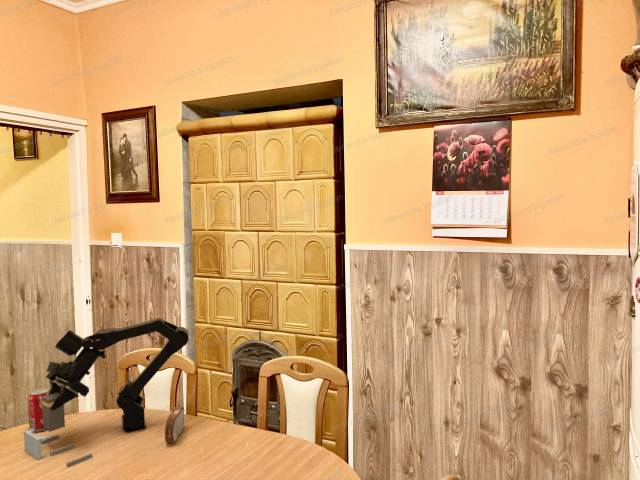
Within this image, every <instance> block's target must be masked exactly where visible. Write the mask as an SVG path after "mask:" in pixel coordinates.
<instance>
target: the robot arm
mask: <svg viewBox="0 0 640 480" xmlns="http://www.w3.org/2000/svg"><path fill="white" fill-rule="evenodd" d="M156 332H157V333H158V334H160V335H161V336H162V337H164V338H166V339H167V341H166V342H165V344H164V346H163V347H162V348H161V350H159V351H158V353H157V354H156V355H155V356H154V357H153V359H151V361H150V362H149V363H148V364H147V366H146V367H145V368H144V369H143V370H142V371H141V372H140V373H139V375H138V376H137V377H136V378H134V379H133V380H132V381H131V380H130V379H127V381H126V382H125V383H124V385H123V386H121V387H120V388H119V391H118V392H117V399H116V405H117V407H119V409H121V410H122V412H123V413H122V415H121V427H122V430H124V431H125V433H126V434H127V433H130V432H131V433H132V432H136V431H140V430H144V429H147V426H146V420H145V417H146V415H145V408H144V406H143V403H144V399H145V398H144V397H142V395H141V393H142V391H143V389H144V388H145V387H146V385H147V384H149V383H150V381H151V380H152V378H153V377H154V376H155V375H156V374H157V373H158V372H159V371H160V369H161V368H162V367H163V366H164V365H165V364H166V362H168V361H169V359H170V358H171V356H173V355H174V354H176V353H177V352H179V351H180V350H181V349H182V348H184V347H186V345H187V344H188V343H189V340H190V339H189V336H190V333H189V331H188V329H187V328H185V327H184V326H177V325H175V324H173V323H171V322H168V321H166V320H164V319H163V318H162V317H161V318H160V317H156V318H155V319H152V320H148V321H144V322H140V323H139V322H138V323H136V324H131V325H127V326H124V327H123V326H122V327H120V328H109V327H108V328H102V329H101V328H100V329H99V330H97V331H96V332H95V333H94V334H91V335H89V336H85V337H84V338H83V337H82V336H80V335H78V334H76V333H75V332H74V331H73V330H71V329H69V330H68V331H67V332H66V333H65V334H64V335H63V337H61V338H60V339H59V340H58V342H57V343H56V344H55V345H54V348H55V349H56V350H58V351H60V352H62V353H63V354H64V355H65V354H66V356H69V357H71V356H72V357H73V356H75V358H74V359H73V361H71V360H70V361H68V362H65V361H61V363H60V362H55V361H51V360H50V361H49V364H48V366H47V368H46V372H48V373H47V374H46V376H45V379H46V378H47V379H48V383H49V386H50V388H49V389H50V391H49V394H48V395H50V394H53V393H59V396H58V397H57V399H56V400H55V402H54V403H53V405H52V407H51V410H55V409H57V408H59V407H60V406H62V405H63V404H64V405H65V404H66V403H69V402H70V401H72V400H74V399H75V398H78V397H79V396H81V397H84V398H85V397H87V395H88V394H89V393H90V387H89V386H87V385H86V384H84V383H82V382H81V381H82V380H83V379H84V377H85V376H86V375H87V376H89V375H90V374H91V371H90V369H91V368H92V367H93V366H94V364H95V363H96V361H97V360H98V359H100V360H101V359H102V360H105V359H106V354H105V352H106V351H105V349H108V348H109V347H112V346H113V345H115V344H118V343H119V342H121V341H125V340H129V339H133V338H137V337H139V336H144V335H149V334H152V333H156ZM80 350H81V351H80ZM79 351H80V352H79ZM77 354H78V355H77ZM76 355H77V356H76Z"/></svg>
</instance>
